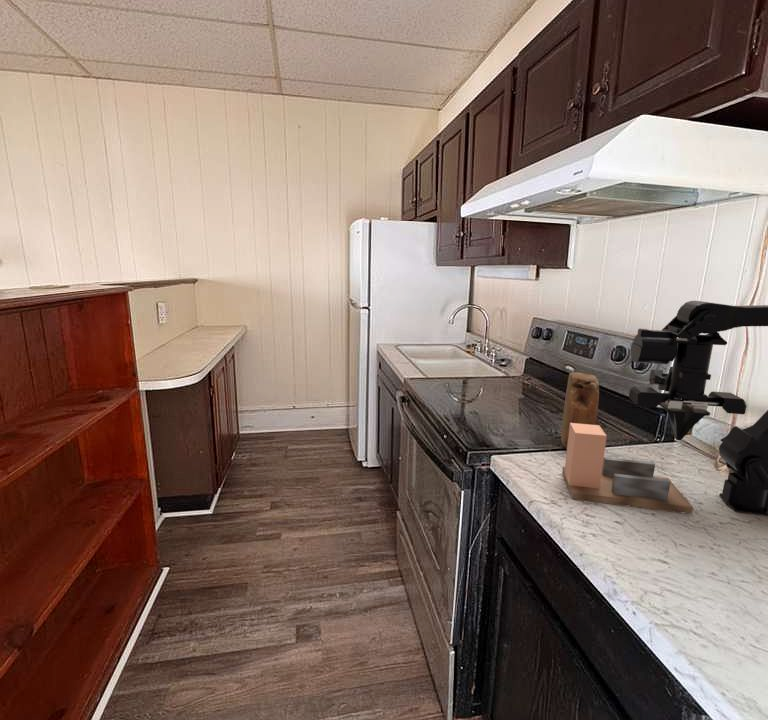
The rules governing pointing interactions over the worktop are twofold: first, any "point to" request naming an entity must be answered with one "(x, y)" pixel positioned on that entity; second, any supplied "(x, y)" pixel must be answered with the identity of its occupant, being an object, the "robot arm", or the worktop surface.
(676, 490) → the chute
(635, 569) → the worktop surface
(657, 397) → the robot arm
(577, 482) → the block
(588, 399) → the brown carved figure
